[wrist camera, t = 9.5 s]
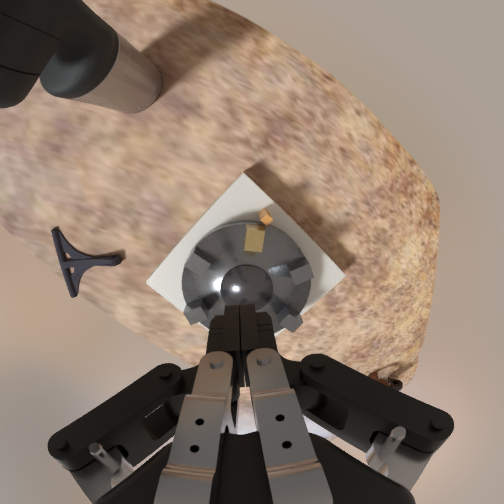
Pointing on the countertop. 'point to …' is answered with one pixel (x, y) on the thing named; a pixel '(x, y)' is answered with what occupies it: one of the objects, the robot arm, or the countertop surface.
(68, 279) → the bracket
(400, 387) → the pottery mug
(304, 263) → the shallow round grey dish
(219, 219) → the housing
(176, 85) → the countertop surface
